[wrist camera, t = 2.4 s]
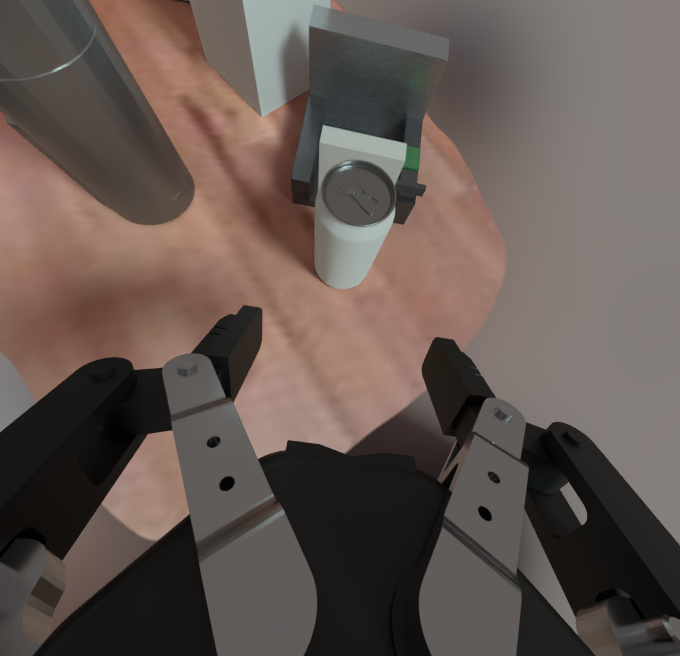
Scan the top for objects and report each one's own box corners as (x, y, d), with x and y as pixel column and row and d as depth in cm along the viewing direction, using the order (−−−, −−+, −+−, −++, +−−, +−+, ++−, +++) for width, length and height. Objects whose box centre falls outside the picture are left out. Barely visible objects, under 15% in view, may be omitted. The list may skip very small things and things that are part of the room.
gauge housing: (293, 202, 31) (285, 124, 22) (313, 108, 35) (313, 4, 25) (403, 224, 32) (441, 158, 23) (412, 130, 36) (449, 38, 26)
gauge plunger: (317, 200, 30) (319, 142, 23) (320, 186, 31) (322, 125, 23) (410, 219, 31) (441, 168, 24) (412, 205, 32) (442, 151, 24)
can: (339, 230, 31) (354, 139, 20) (378, 264, 31) (419, 192, 19) (302, 265, 30) (296, 189, 18) (343, 301, 29) (364, 248, 18)
